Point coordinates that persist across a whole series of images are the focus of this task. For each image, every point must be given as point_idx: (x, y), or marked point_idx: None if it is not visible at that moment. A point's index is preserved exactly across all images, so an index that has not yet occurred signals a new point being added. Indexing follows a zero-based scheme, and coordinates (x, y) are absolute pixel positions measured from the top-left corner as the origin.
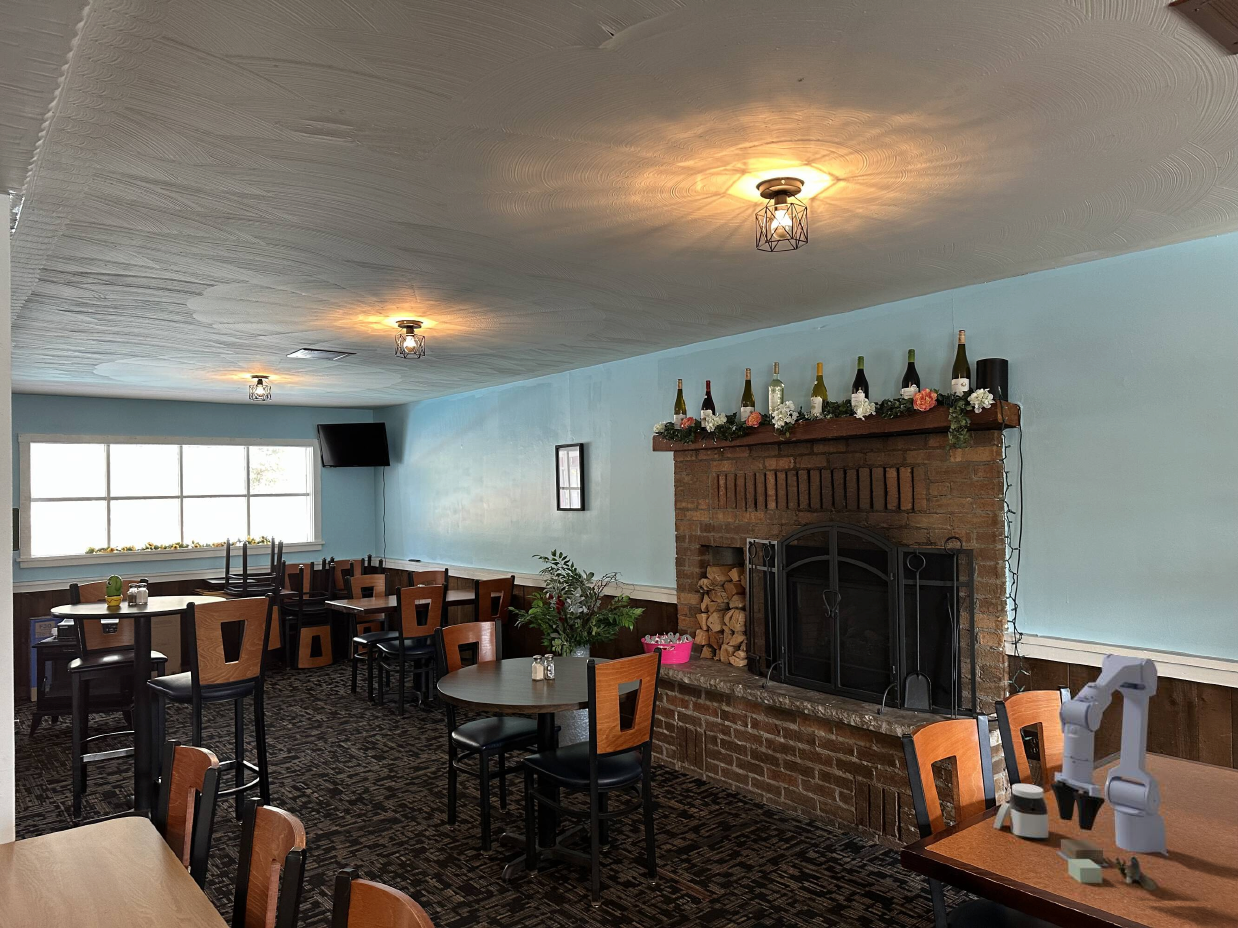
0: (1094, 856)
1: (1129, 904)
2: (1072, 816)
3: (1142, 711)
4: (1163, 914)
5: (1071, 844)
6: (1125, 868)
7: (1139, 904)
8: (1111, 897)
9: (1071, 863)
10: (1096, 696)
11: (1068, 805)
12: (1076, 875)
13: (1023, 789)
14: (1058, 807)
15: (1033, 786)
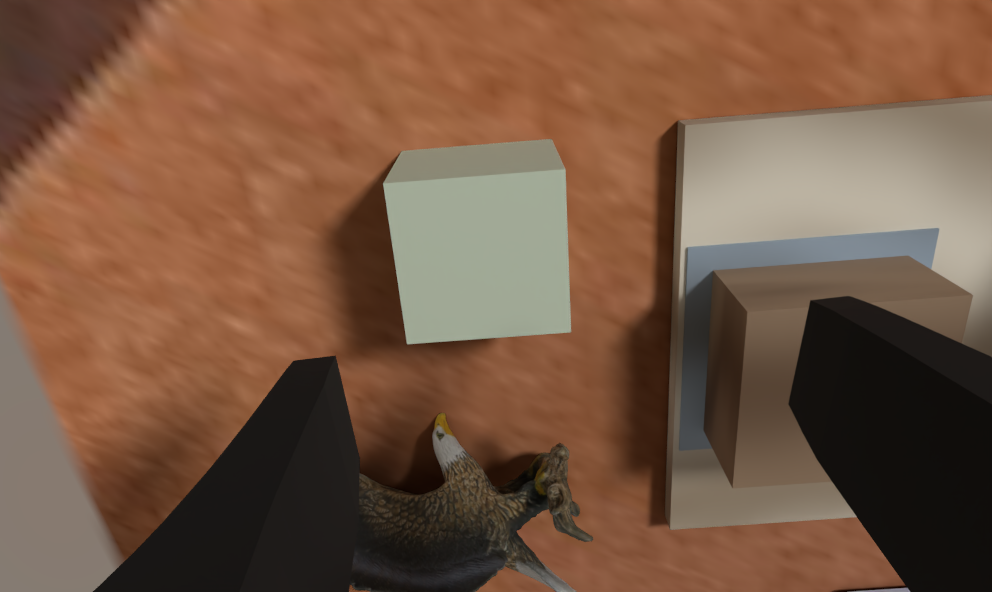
0: (722, 410)
1: (193, 327)
2: (814, 452)
3: None
4: (108, 434)
5: None
6: (510, 494)
7: (208, 378)
8: (271, 272)
9: (512, 169)
10: None
11: (931, 523)
12: (445, 159)
13: None
14: (977, 357)
15: None
